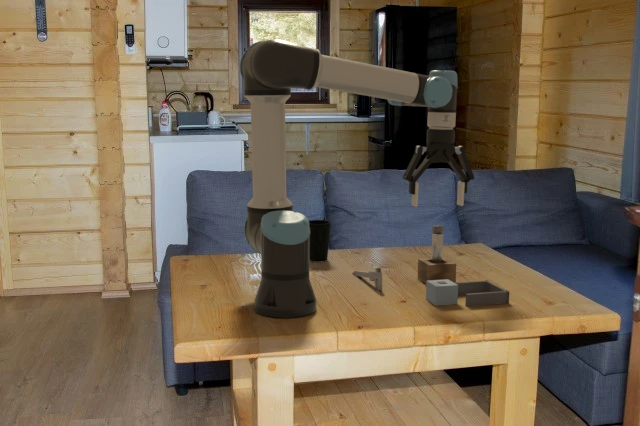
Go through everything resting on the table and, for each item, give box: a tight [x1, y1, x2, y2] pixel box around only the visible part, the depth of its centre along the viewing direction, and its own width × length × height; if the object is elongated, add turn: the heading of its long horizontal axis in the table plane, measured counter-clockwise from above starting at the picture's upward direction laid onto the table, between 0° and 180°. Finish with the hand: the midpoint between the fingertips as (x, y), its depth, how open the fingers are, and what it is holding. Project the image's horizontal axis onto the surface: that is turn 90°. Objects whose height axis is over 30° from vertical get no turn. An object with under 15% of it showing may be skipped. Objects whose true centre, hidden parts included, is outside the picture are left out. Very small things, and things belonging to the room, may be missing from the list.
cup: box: [309, 219, 332, 263], centre depth 240 cm, size 8×8×12 cm
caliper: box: [352, 267, 383, 292], centre depth 213 cm, size 20×1×6 cm, turn 18°
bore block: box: [417, 257, 457, 285], centre depth 214 cm, size 8×8×6 cm
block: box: [425, 279, 459, 306], centre depth 195 cm, size 6×6×5 cm
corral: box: [455, 279, 510, 307], centre depth 197 cm, size 12×12×3 cm
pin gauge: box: [431, 224, 445, 263], centre depth 213 cm, size 3×3×15 cm
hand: (437, 205), depth 211 cm, fingers open, 13 cm apart
